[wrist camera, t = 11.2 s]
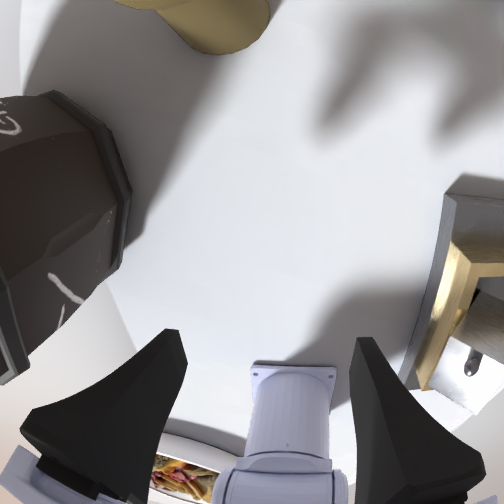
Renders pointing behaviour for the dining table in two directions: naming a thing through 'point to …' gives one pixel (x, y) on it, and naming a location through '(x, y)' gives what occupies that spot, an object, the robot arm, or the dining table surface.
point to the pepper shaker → (211, 21)
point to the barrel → (54, 218)
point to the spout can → (473, 355)
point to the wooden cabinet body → (456, 279)
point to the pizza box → (188, 468)
